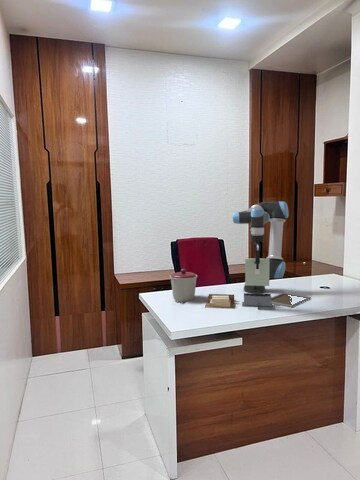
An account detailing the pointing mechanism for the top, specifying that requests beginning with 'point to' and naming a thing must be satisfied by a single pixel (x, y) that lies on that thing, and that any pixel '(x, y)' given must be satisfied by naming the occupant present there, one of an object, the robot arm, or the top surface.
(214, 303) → the offcut lower
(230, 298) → the rack
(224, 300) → the offcut upper
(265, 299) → the stand
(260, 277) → the panel
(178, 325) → the top surface
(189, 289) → the canister
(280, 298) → the grey brown flat board
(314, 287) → the top surface
